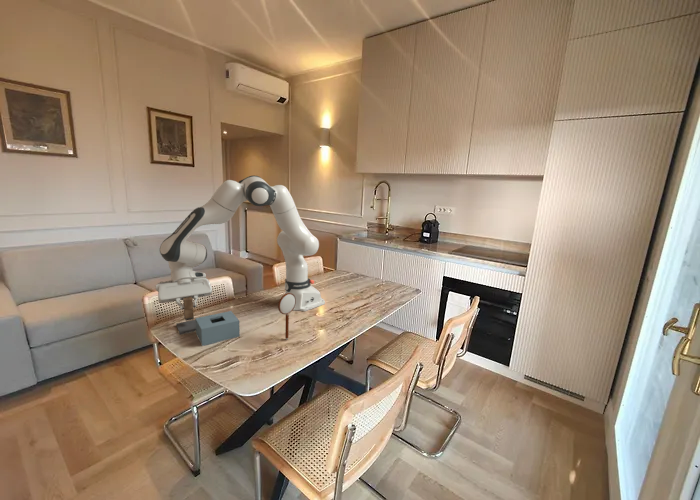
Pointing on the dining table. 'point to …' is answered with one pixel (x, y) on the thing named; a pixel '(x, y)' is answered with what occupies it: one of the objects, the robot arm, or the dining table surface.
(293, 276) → the robot arm
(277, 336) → the dining table surface
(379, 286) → the dining table surface
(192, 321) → the pad
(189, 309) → the upright wooden post
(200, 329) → the box
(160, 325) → the dining table surface
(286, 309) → the magnifying glass
